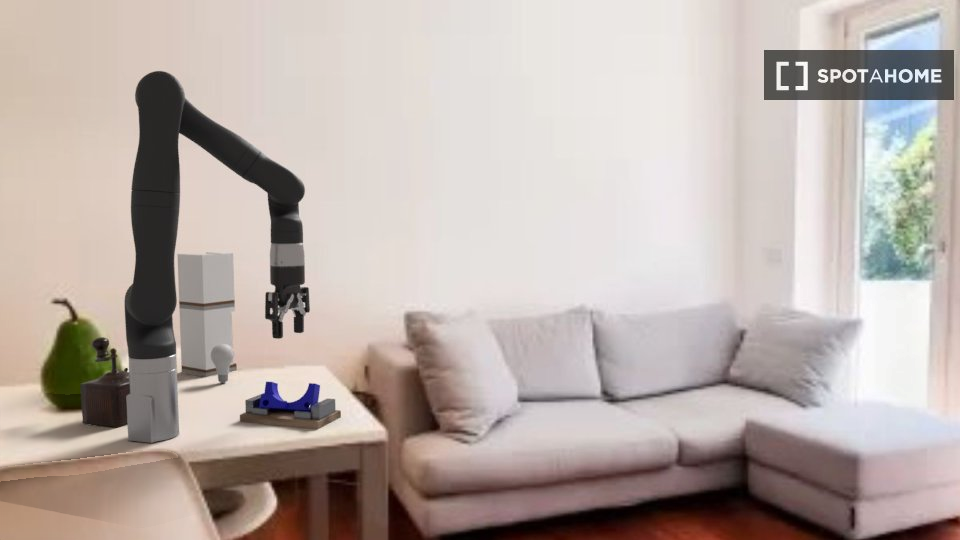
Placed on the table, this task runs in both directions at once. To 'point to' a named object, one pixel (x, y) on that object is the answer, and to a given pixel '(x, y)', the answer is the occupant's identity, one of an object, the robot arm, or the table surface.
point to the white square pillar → (205, 309)
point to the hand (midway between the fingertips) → (288, 335)
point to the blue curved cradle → (277, 403)
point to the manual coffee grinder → (106, 392)
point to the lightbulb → (222, 360)
